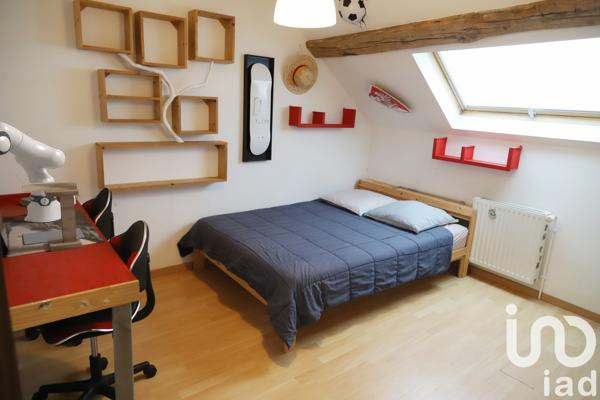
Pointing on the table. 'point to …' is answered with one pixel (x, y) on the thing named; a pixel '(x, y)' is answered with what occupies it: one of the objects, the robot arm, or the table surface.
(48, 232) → the rubber mat
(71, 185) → the ash bar
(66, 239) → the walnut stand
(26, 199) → the marble piece
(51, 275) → the table surface
